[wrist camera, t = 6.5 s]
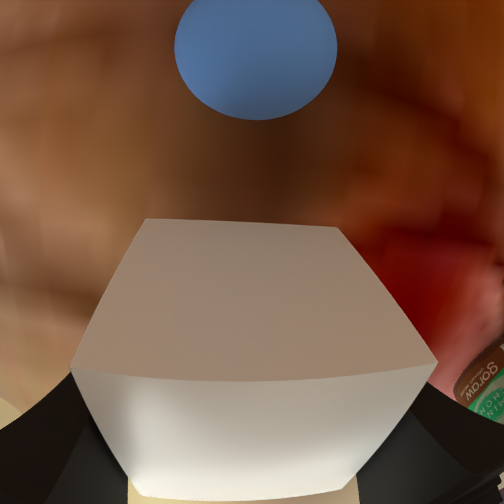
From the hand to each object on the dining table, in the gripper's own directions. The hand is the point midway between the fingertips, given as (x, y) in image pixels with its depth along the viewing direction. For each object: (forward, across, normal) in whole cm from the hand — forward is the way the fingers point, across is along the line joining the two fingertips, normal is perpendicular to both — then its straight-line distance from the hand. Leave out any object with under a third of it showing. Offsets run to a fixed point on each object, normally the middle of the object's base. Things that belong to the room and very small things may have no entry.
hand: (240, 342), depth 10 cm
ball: (+3, 0, -9) cm, 9 cm away
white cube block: (+2, 0, 0) cm, 2 cm away
